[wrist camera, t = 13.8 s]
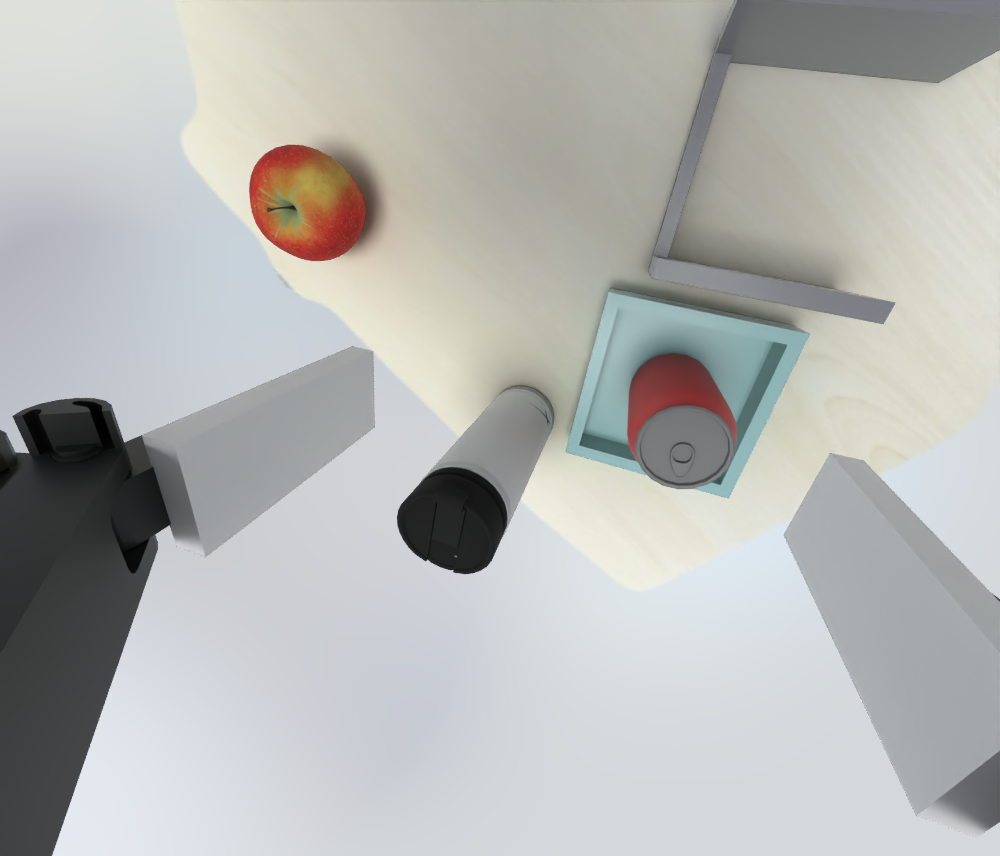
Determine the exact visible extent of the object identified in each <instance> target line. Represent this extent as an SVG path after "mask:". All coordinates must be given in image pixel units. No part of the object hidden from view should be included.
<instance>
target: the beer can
mask: <svg viewBox="0 0 1000 856" xmlns="http://www.w3.org/2000/svg"><path fill="white" fill-rule="evenodd" d="M627 435H628V444H629V447H630V449H631V451H632V453H633V455H634V457H635V459H636V461H637V462H638V463H639V465H640V467H641V469H642V470H643V471H644V472H645V473H646V474H647V475H648V476H649V477H650V478H651V479H652V480H654V481H656V482H658V483H660V484H661V485H663V486H667V487H671V488H676V489H694V488H697V487H701V486H704V485H707V484H709V483H711V482H713V481H714V480H716V479H717V478H719V477H721V475H722V474H723V473H724V472H725V471H726V470H727V468H728V467H729V466H730V464H731V461H732V459H733V456H734V454H735V445H736V442H737V424H736V421H735V418H734V416H733V414H732V411H731V409H730V407H729V406H728V404H727V402H726V400H725V399H724V397H723V395H722V393H721V392H720V390H719V388H718V387H717V385H716V383H715V381H714V380H713V378H712V376H711V375H710V373H709V371H708V370H707V369H706V368H705V367H704V366H703V365H702V364H701V362H700V361H698V360H696V359H694V358H692V357H690V356H688V355H682V354H676V353H672V354H665V355H660V356H657V357H655V358H653V359H650V360H648V361H647V362H646V363H645V364H644V365H642V366H641V367H640V368H639V369H638V370H637V372H636V373H635V375H634V377H633V378H632V381H631V385H630V389H629V402H628V423H627Z"/></svg>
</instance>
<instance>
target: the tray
mask: <svg viewBox="0 0 1000 856" xmlns="http://www.w3.org/2000/svg"><path fill="white" fill-rule="evenodd" d="M809 335H810V334H809V333H807V332H805V331H803V330H801V329H799V328H797V327H795V326H792V325H788V324H783V323H778V322H773V321H768V320H763V319H758V318H754V317H749V316H744V315H739V314H734V313H729V312H724V311H720V310H715V309H710V308H705V307H700V306H695V305H690V304H686V303H681V302H676V301H671V300H666V299H661V298H656V297H651V296H647V295H642V294H637V293H632V292H627V291H622V290H617V289H613V288H610V290H609V292H608V295H607V299H606V303H605V307H604V310H603V314H602V318H601V321H600V325H599V329H598V333H597V336H596V340H595V344H594V348H593V351H592V355H591V359H590V362H589V366H588V370H587V374H586V377H585V381H584V385H583V388H582V392H581V396H580V400H579V403H578V407H577V411H576V414H575V418H574V422H573V426H572V429H571V433H570V437H569V441H568V444H567V448H566V452H567V453H570V454H574V455H577V456H581V457H584V458H588V459H591V460H595V461H598V462H602V463H606V464H609V465H613V466H616V467H620V468H623V469H627V470H630V471H634V472H637V473H641V474H644V475H647V474H646V473H645V472H644V471H643V470H642V469H641V467H640V465H639V463H638V462H637V461H636V459H635V457H634V455H633V453H632V451H631V449H630V447H629V444H628V435H627V423H628V402H629V389H630V385H631V381H632V378H633V377H634V375H635V373H636V372H637V370H638V369H639V368H640V367H641V366H642V365H644V364H645V363H646V362H647V361H648V360H650V359H653V358H655V357H657V356H660V355H665V354H672V353H676V354H682V355H688V356H690V357H692V358H694V359H696V360H698V361H700V362H701V364H702V365H703V366H704V367H705V368H706V369H707V370H708V371H709V373H710V375H711V376H712V378H713V380H714V381H715V383H716V385H717V387H718V388H719V390H720V392H721V393H722V395H723V397H724V399H725V400H726V402H727V404H728V406H729V407H730V409H731V411H732V414H733V416H734V418H735V421H736V424H737V442H736V445H735V454H734V456H733V459H732V461H731V464H730V466H729V467H728V468H727V470H726V471H725V472H724V473H723V474H722V475H721V477H719V478H717V479H716V480H714V481H713V482H711V483H709V484H707V485H704V486H701V487H697V488H694V489H697V490H700V491H704V492H707V493H711V494H714V495H718V496H721V497H725V498H729V497H730V495H731V493H732V491H733V489H734V487H735V485H736V483H737V481H738V478H739V476H740V474H741V472H742V470H743V468H744V466H745V464H746V462H747V460H748V458H749V456H750V454H751V452H752V450H753V448H754V446H755V444H756V442H757V440H758V438H759V436H760V434H761V432H762V430H763V428H764V426H765V424H766V422H767V420H768V418H769V416H770V414H771V412H772V410H773V408H774V406H775V404H776V402H777V400H778V398H779V396H780V394H781V392H782V390H783V388H784V385H785V383H786V381H787V379H788V377H789V375H790V373H791V371H792V369H793V367H794V365H795V363H796V361H797V359H798V357H799V355H800V353H801V351H802V349H803V347H804V345H805V343H806V341H807V339H808V337H809Z"/></svg>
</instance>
